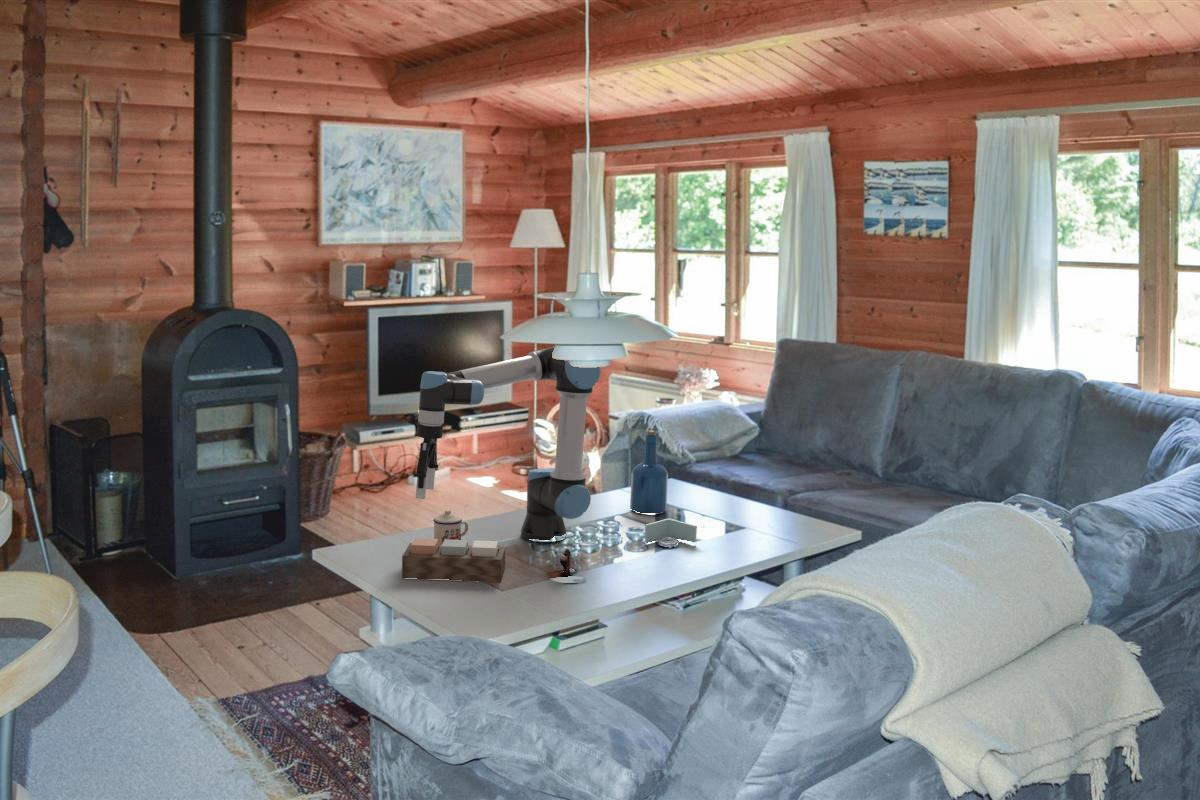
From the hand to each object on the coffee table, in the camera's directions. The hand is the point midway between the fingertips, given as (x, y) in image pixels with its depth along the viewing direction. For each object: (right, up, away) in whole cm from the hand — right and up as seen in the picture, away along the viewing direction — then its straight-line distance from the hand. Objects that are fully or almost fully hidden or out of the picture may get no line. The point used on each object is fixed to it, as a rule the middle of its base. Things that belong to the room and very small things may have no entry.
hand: (424, 493), depth 347 cm
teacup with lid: (+4, -19, +28) cm, 34 cm away
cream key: (+18, -20, -1) cm, 27 cm away
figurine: (+43, -25, +2) cm, 50 cm away
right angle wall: (+75, -21, +36) cm, 86 cm away
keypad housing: (+9, -24, 0) cm, 25 cm away
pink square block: (0, -19, -1) cm, 19 cm away
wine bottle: (+70, -13, +77) cm, 105 cm away
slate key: (+9, -19, -1) cm, 21 cm away
